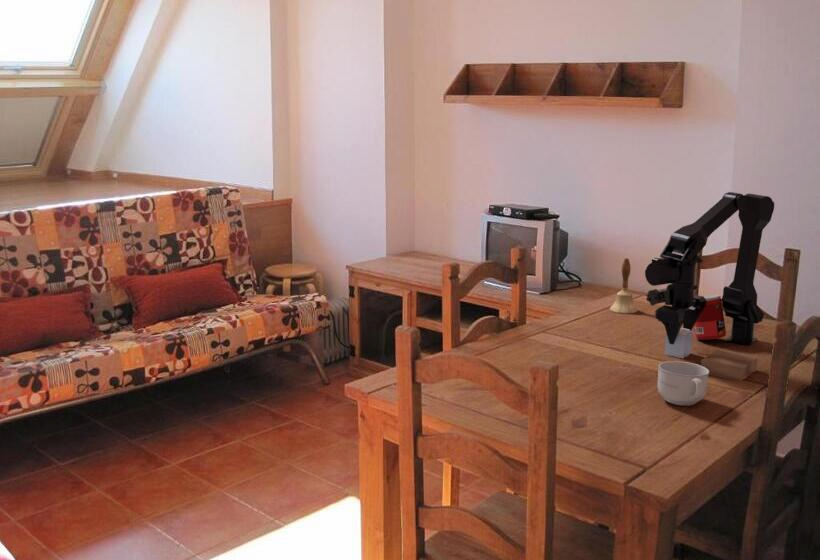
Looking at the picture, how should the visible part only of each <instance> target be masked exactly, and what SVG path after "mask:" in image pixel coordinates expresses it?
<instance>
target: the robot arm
mask: <svg viewBox="0 0 820 560" xmlns="http://www.w3.org/2000/svg"><path fill="white" fill-rule="evenodd" d="M774 210H775V201H774V200H773V199H772V198H771V197H770V196H769V195H768V196H767V195H761V194H755V193H750V192H749V193H746V194H743V193H739V192H733V191H729V192H725V193H724V194H723V195H722V198H721V199H720V200H719V201H717V202H716V203H715V204H714V205H712V207H710V208H709V209H708V210H707V211H706V212H705V213H703V214H702V215H701V216H700V217H699V218H698V219H697V220H695V221H694V222H693V223H691V224H690V223H689V224H687V225H683V226H682V227H680V228H679V229H677V230H675V231H674V232H673V233H672V234H671V235H670V237H669V239H668V242H667V243H666V245H665V246H664V248H663V250H662V251H661V253H660V255H659V257H653V258H651V262H650V263H649V264H648V265H647V266H646V269H644V276H645V280H646V281H647V283H648V284H649V285H651V286H654V287H655V286H662V285H667V286H666V287H665V288H662V289H656V288H654V289H651V290H648V291H647V292H648V293H647V294H646V299H645V300H646V301H647V302H648V303H649V304H650V306H655V305H658V304H662V303H663V305H662V306H660V307H658V308H657V309H656V310H655V312H654V319H655V320H657V321H658V322H661V324H663V326H664V328H665V333H666V332H667V336H668V340H669V343H670V344H674V343H675V341H676V339H677V336H678V334H679V331H680V329H681V328H685V329H690V331H692V330H693V328H694V325H695V323H696V321H697V320H698V318H699V316H700V315H701V313H702V311H703V310H704V309H703V308H705V307H706V299H705V298H704V297H703V296H704V295H703V296H702V295H697V294H695V290H697V289H698V284H696V282H695V281H696V271H697V269H696V267H697V264H701V263H703V262H704V261H703V259H702V258H701V257H700V256H699V254H700V252H702V250H703V249H704V247H706V245H707V244H708V243H707V242H708V238H709V237H710V236H711V234H713V233H714V232H715V231H716V230H717V229H719V227H721V226H722V225H723V224H724V223H725V222H726V221H728V220H729V219H730V218H731V217H732V216H733V215H734V214H735V213H737V212H738V219H739V220H740V224H741V227H742V229H741V235H740V241H739V247H738V253H737V258H736V262H735V269H734V276H733V280H732V282H731V283H730V284H729V285H728V286H726V285H725V286H724V287H723V288H722V289H723V291H722V293H723V294H722V296H721V301H722V308H723V312H724V314H725V316H724V317H726V318H731V329H730V336H729V337H727V338H726V339H725V341H726V342H728V343H735V344H741V345H744V346H745V345H746V346H751V345H753V344H754V343H755V342H757V341H758V338H757V337H754V335H755V334H754V333H755V324H759V323H761V322H763V319H764V316H765V313H764V311H763V310H762V309H761V308H760V307H759V306H758V292H757V290H756V287H755V285H754V281H755V275H756V271H757V269H756V268H757V265H758V260H759V259H758V256H759V253H760V246H761V240H762V236H763V230H764V229H765V228H766V227H767V225H768V224H769V223H770V222H771V220H772V217H773V214H774ZM698 306H699V308H698Z"/></svg>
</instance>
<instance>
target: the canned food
mask: <svg viewBox="0 0 820 560" xmlns="http://www.w3.org/2000/svg"><path fill="white" fill-rule="evenodd" d="M703 297H704V298H705V299H706V307H705V308H703V309H704V310H703V311H702V313H701V315H700V316H699V318H698V320H697V321H696V323H695V325H694V327H693V328H694V335H695V338H696V339H697V340H700V341H701V340H702V341H706V340H707V341H708V340H716V339H721V338H724V337H726V333H727V330H726V324H725V323H726V322H725V316H724V307H723V306H722V301H721V299H722V296H721V294H710V295H703ZM698 308H699V306H698Z"/></svg>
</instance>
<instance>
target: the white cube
mask: <svg viewBox="0 0 820 560" xmlns="http://www.w3.org/2000/svg"><path fill="white" fill-rule="evenodd" d="M664 343H665V345H664V356H668V355H669V356H670V357H673V356H674V358H679V359H685V358H686V357H688V356H689V354H690V355H691V354H692V347H693V345H692V343H693V331H692V330H691V331H690V329H685V328H683V327H681V329H680V331H679V334H678V336H677V339H676V341H675V343H674V344H670V343H669V340H668V336H667V332H666V331H665V342H664ZM669 356H668V357H669ZM684 357H685V358H684Z"/></svg>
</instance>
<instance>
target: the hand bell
mask: <svg viewBox="0 0 820 560" xmlns="http://www.w3.org/2000/svg"><path fill="white" fill-rule="evenodd" d="M630 274H631V262H630V259H629V258H624V260H623V262H622V265H621V276H622V284H621V285H622V286H621V290H620V291H618V292H617V293H616V298H615V301H614V303H613V304H612V305H611V306H610V308H609V310H610V311H611V312H613V313H617V314H626V315H627V314H636V313H638V311H639V310H638V308H637V307H636V305H635V303H634V300H633V293H632V292H631V291H629V290H628V289H629V286H628V285H629V277H630Z"/></svg>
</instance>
